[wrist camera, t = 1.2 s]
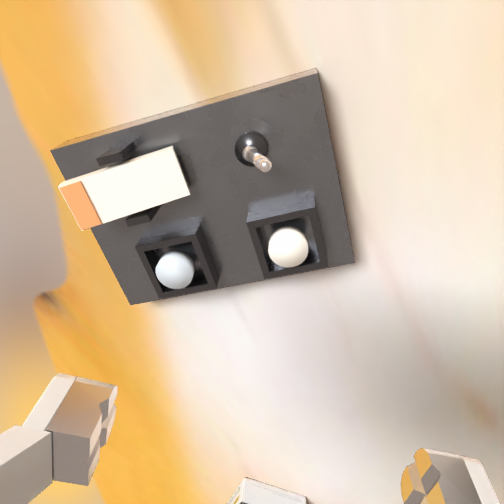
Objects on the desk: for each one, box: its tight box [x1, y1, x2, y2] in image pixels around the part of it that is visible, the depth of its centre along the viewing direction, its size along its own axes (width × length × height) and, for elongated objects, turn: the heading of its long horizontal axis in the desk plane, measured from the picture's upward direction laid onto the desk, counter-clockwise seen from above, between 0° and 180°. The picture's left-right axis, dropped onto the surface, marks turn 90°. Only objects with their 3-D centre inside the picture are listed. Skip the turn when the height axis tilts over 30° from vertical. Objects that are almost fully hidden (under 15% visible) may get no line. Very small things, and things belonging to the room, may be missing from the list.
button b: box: [156, 250, 195, 289], centre depth 36 cm, size 3×3×1 cm
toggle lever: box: [242, 145, 272, 172], centre depth 29 cm, size 1×1×5 cm
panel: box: [50, 68, 355, 305], centre depth 35 cm, size 22×16×6 cm
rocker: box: [58, 146, 190, 231], centre depth 33 cm, size 9×4×2 cm, turn 107°
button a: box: [268, 226, 308, 267], centre depth 34 cm, size 3×3×1 cm
